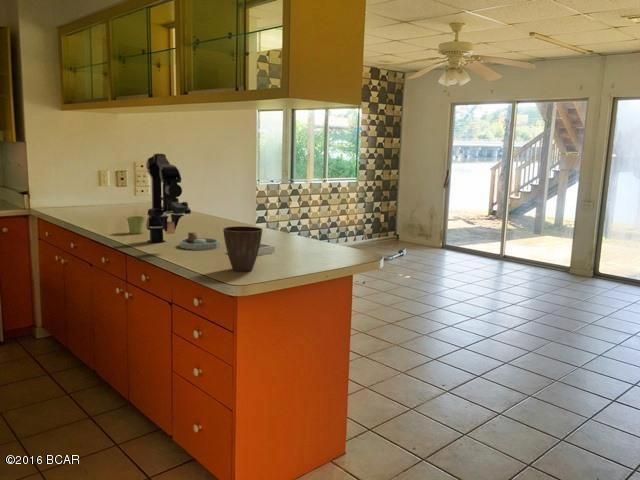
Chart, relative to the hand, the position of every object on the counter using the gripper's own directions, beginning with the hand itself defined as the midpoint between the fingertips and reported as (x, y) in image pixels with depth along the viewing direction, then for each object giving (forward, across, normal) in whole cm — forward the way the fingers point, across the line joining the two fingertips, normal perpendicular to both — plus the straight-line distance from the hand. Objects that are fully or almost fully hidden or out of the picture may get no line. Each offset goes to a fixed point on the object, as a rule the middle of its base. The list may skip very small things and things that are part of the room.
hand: (169, 230), depth 236 cm
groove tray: (+9, +18, +2) cm, 21 cm away
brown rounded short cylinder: (+9, +18, +8) cm, 21 cm away
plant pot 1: (+10, +17, +54) cm, 58 cm away
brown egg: (+1, 0, 0) cm, 1 cm away
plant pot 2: (+10, -1, -48) cm, 49 cm away
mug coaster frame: (+9, +26, -25) cm, 37 cm away
